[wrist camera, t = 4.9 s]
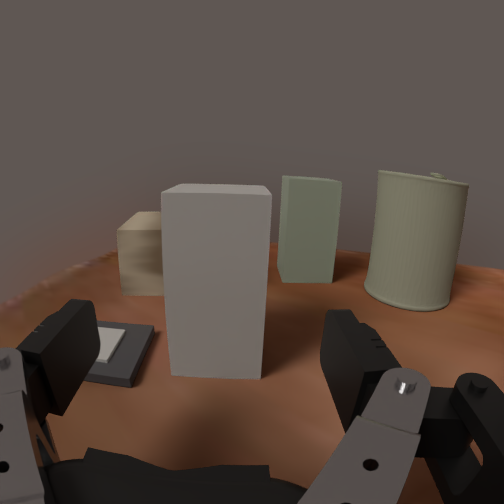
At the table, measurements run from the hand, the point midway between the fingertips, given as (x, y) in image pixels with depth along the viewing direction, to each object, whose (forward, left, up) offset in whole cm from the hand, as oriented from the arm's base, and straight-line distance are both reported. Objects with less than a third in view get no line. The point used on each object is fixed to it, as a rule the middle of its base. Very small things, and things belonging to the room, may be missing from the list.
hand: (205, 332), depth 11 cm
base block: (+5, -21, -6) cm, 22 cm away
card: (+8, -7, -6) cm, 12 cm away
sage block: (-8, -23, -6) cm, 25 cm away
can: (-18, -18, -6) cm, 26 cm away
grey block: (0, -8, -6) cm, 10 cm away
